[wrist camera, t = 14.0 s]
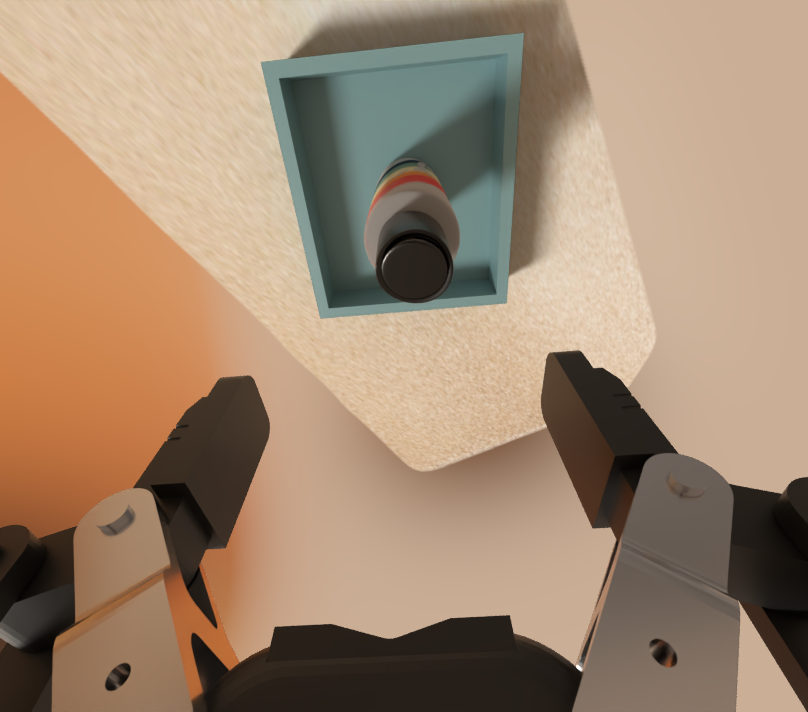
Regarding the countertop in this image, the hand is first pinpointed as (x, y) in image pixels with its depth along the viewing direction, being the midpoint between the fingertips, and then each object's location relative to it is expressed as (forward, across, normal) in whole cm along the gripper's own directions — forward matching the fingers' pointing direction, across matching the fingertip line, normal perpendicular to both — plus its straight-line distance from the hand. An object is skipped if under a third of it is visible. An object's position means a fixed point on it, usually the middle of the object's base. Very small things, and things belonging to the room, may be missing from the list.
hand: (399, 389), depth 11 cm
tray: (+30, 0, 0) cm, 30 cm away
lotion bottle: (+29, -1, 0) cm, 29 cm away
